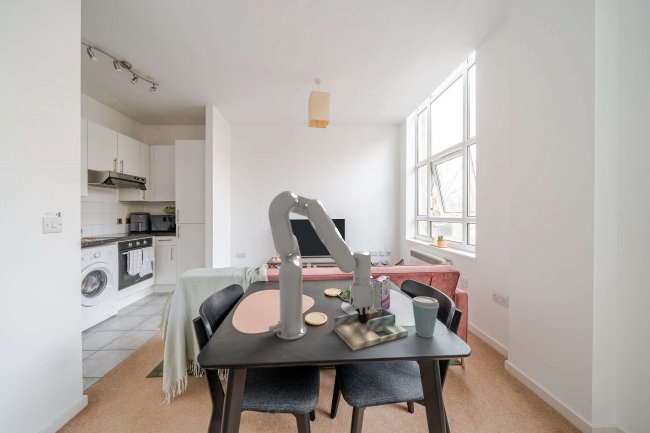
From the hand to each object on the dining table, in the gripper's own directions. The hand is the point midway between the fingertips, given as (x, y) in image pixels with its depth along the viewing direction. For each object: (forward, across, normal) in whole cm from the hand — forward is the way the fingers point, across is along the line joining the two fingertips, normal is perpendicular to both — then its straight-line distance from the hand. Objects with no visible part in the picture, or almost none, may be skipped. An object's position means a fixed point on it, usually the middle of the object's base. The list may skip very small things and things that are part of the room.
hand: (362, 322), depth 102 cm
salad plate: (+4, -16, -36) cm, 40 cm away
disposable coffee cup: (+4, -22, +14) cm, 26 cm away
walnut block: (+1, -5, -1) cm, 5 cm away
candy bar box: (+4, -21, -14) cm, 25 cm away
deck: (+3, -1, +3) cm, 5 cm away
